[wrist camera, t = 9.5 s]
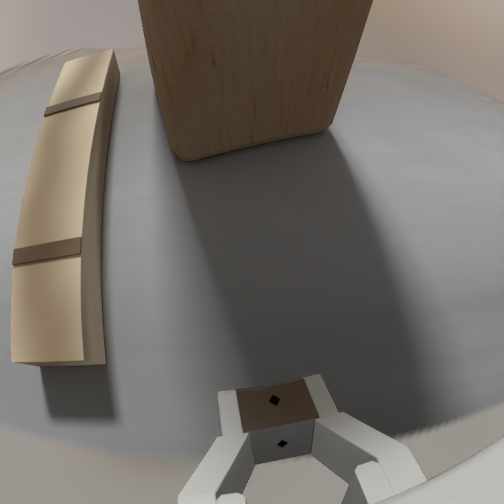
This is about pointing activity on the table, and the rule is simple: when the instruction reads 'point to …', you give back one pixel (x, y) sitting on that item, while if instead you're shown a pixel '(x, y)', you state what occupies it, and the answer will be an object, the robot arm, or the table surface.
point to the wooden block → (248, 68)
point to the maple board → (65, 223)
